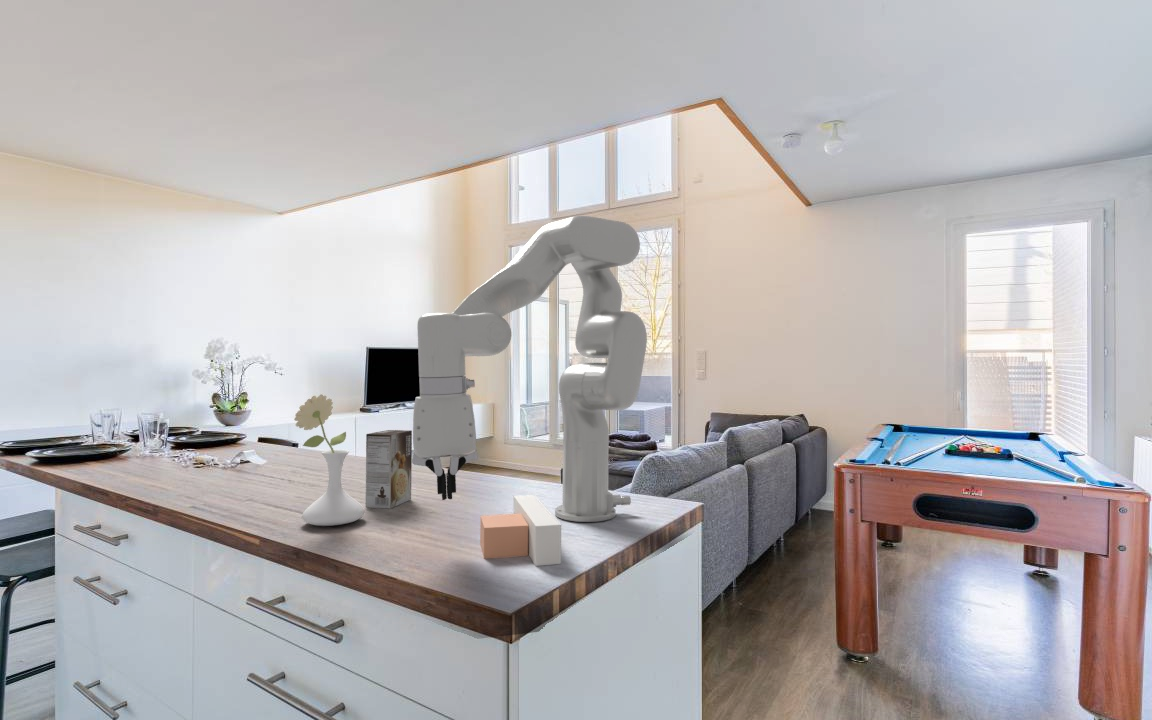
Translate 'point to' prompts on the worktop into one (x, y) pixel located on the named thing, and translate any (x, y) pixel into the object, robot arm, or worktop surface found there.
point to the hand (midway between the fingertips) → (446, 497)
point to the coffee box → (388, 468)
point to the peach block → (503, 535)
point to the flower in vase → (334, 502)
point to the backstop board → (540, 530)
